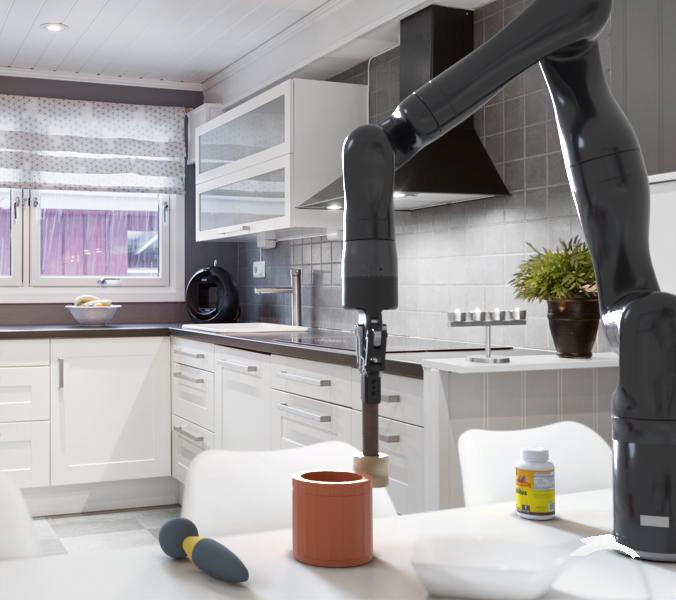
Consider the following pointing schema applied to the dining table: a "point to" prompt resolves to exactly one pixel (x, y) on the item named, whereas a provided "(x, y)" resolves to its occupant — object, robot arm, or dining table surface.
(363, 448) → the brown rod with cap
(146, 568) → the dining table surface
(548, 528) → the dining table surface
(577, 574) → the dining table surface
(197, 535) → the paintbrush
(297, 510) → the jar
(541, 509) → the supplement bottle
